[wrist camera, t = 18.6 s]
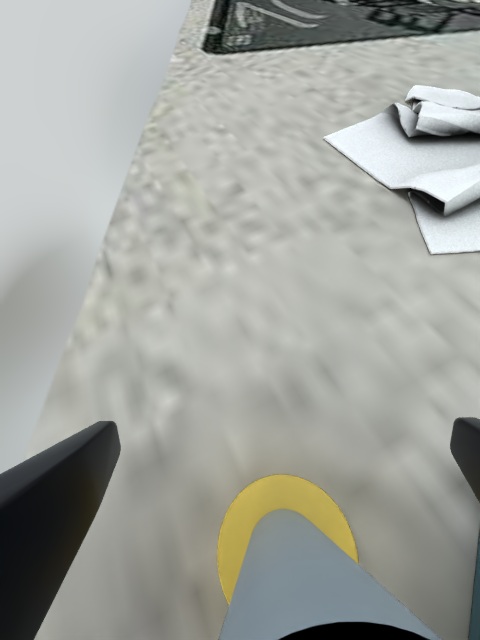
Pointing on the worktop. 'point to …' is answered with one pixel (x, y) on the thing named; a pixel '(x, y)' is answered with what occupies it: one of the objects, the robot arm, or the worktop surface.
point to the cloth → (426, 161)
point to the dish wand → (301, 571)
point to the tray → (476, 603)
